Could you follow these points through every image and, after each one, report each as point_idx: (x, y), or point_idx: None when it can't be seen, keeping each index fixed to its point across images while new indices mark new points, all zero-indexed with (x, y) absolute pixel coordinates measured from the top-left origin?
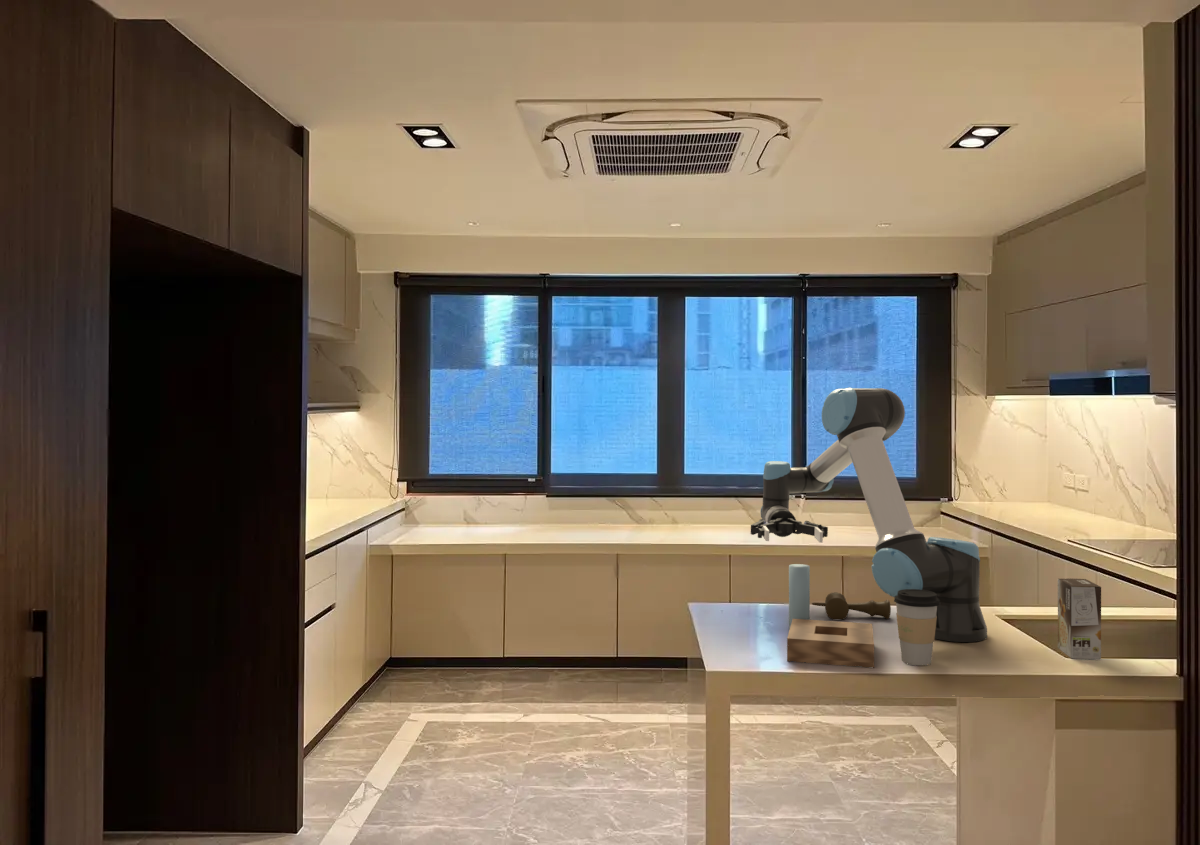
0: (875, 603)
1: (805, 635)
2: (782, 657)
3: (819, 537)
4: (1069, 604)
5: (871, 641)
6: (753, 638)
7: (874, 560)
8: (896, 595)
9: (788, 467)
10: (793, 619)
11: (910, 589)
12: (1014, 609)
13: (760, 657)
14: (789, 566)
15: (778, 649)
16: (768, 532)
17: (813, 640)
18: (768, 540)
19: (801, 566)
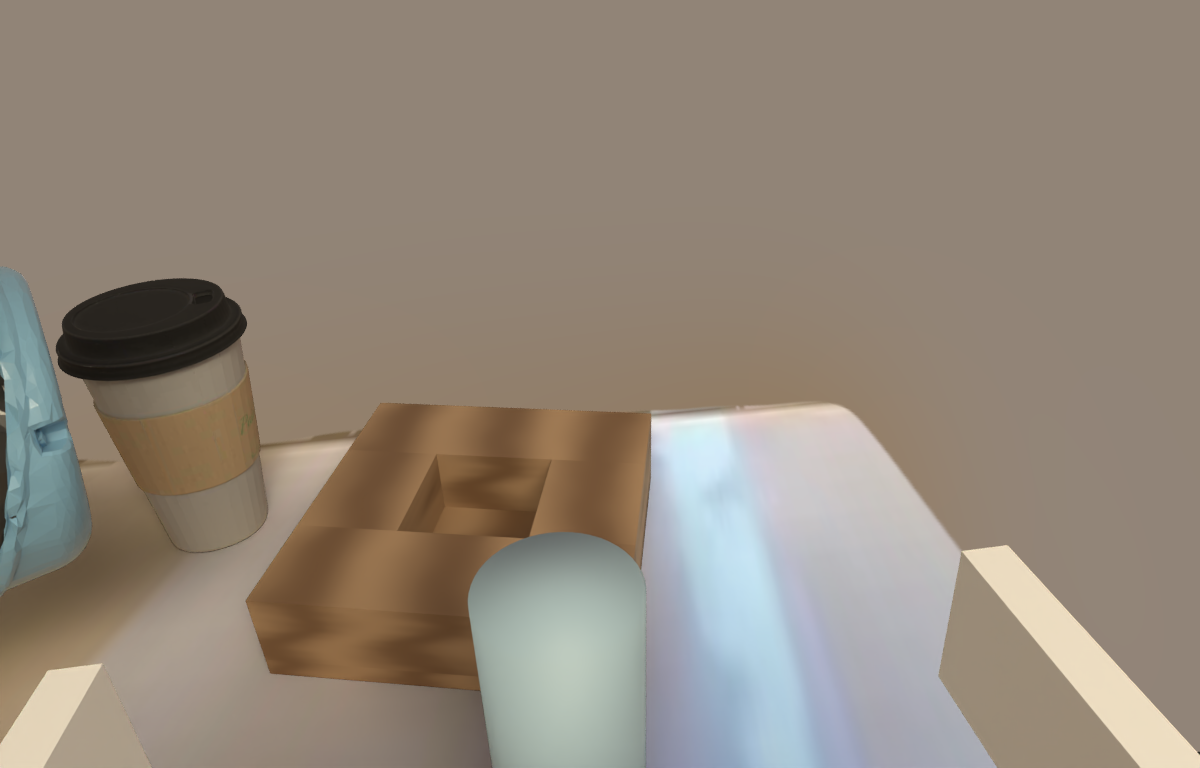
0: None
1: (586, 441)
2: (667, 503)
3: (125, 755)
4: None
5: (375, 420)
6: (818, 695)
7: (59, 394)
8: (205, 340)
9: None
10: None
11: (126, 333)
12: None
13: (740, 494)
14: (641, 573)
15: (686, 571)
16: (969, 571)
17: (565, 411)
18: (948, 669)
19: (540, 575)
